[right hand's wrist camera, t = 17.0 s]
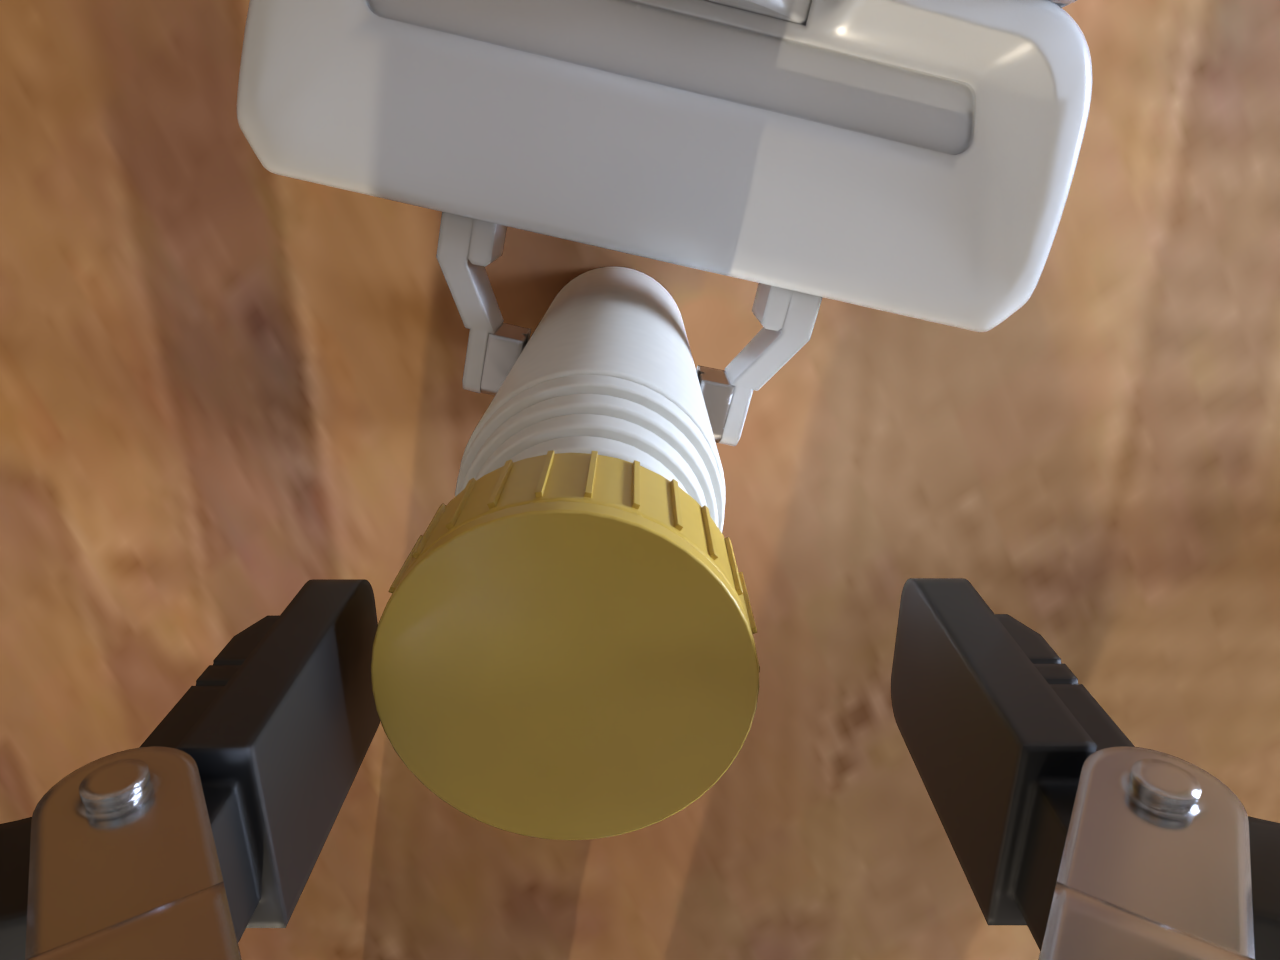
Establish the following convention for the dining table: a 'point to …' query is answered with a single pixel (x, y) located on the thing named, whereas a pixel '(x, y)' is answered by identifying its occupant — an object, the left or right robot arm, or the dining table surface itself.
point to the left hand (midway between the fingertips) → (603, 413)
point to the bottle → (605, 389)
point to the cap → (568, 650)
